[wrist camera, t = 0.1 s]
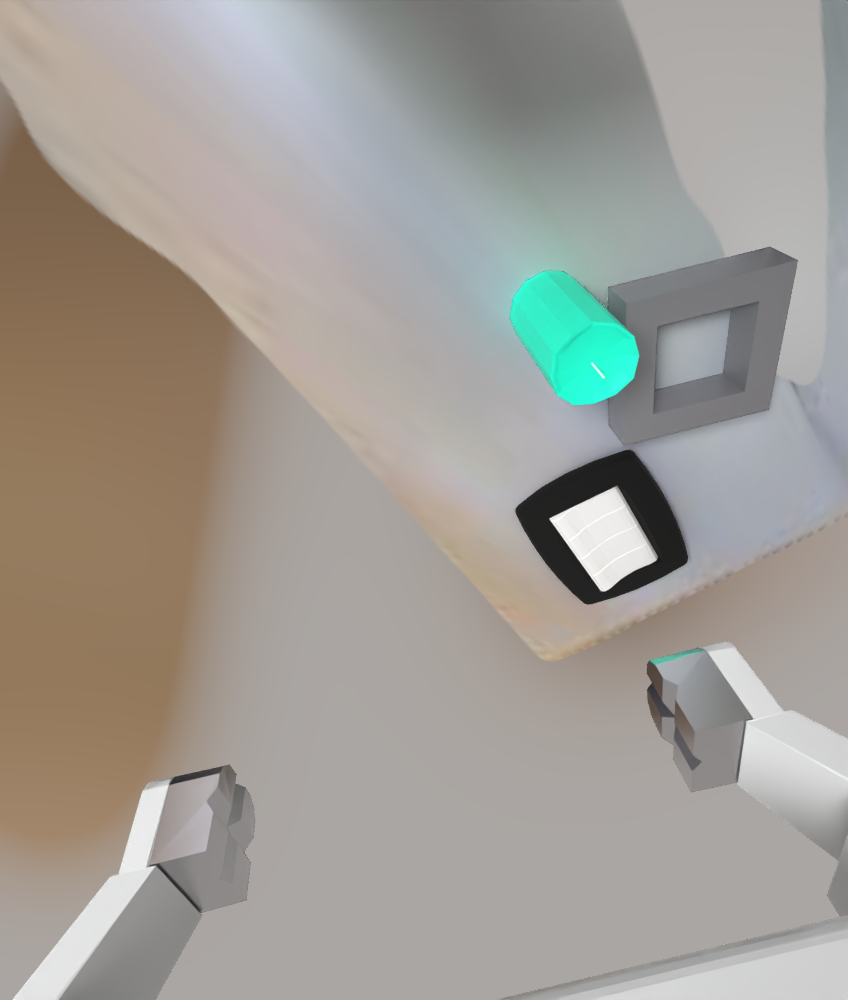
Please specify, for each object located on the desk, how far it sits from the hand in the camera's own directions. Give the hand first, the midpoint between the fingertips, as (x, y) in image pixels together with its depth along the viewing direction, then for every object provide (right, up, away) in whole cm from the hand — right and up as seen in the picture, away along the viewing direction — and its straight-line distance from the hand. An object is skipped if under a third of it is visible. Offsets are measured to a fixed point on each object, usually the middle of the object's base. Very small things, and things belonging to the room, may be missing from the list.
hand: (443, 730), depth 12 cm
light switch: (+19, +1, +53) cm, 56 cm away
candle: (+9, +20, +36) cm, 42 cm away
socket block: (+22, +18, +40) cm, 49 cm away
